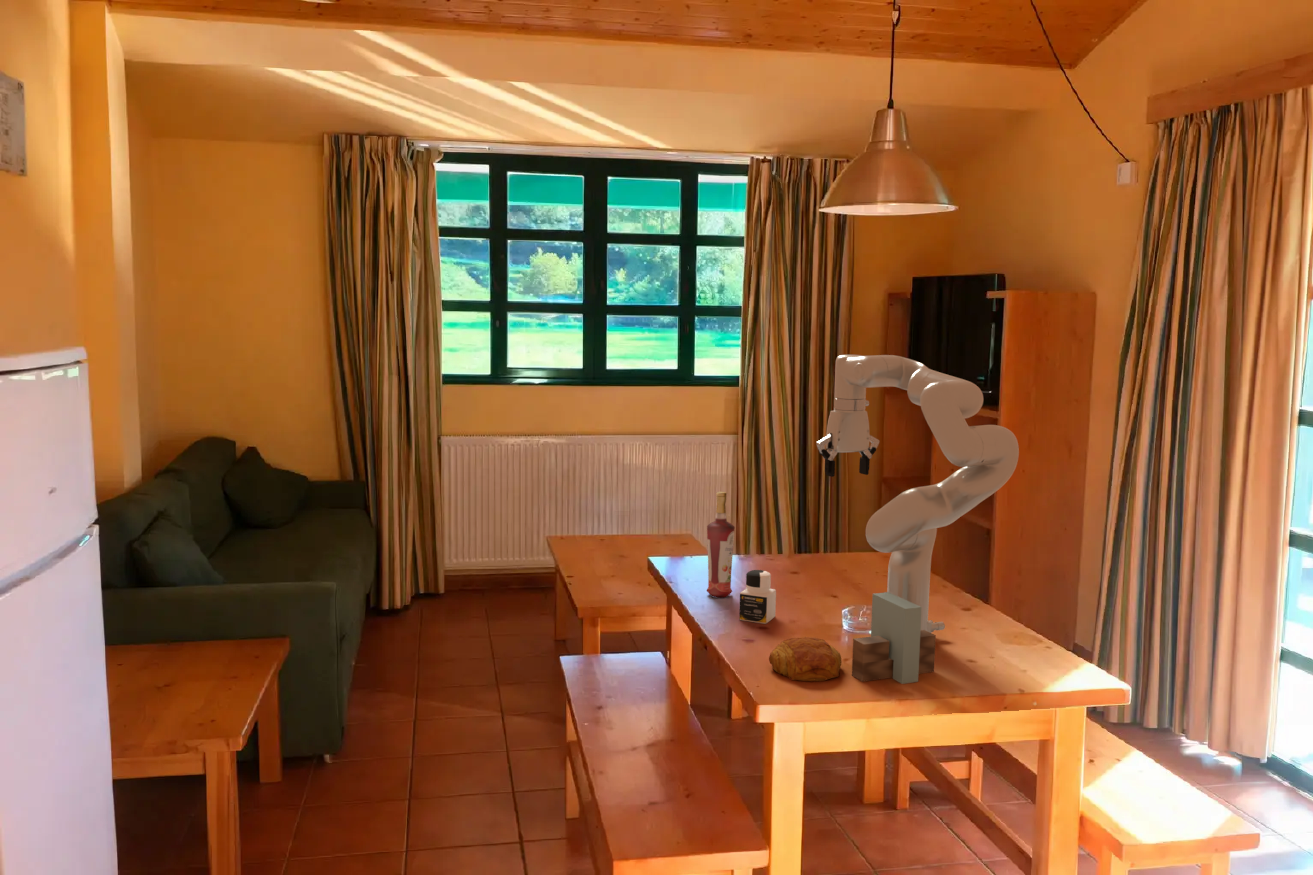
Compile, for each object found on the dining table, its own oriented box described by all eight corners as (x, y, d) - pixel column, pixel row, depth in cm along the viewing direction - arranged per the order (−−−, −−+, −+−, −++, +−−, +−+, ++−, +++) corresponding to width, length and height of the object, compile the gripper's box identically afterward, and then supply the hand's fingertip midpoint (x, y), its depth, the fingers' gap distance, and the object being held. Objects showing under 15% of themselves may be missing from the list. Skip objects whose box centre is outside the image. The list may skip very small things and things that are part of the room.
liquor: (725, 600, 278) (727, 496, 274) (700, 596, 281) (702, 493, 278) (737, 594, 284) (740, 491, 280) (713, 590, 288) (715, 489, 284)
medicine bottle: (738, 620, 261) (739, 572, 259) (748, 612, 267) (750, 566, 266) (766, 624, 258) (767, 576, 256) (775, 616, 264) (777, 570, 263)
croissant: (767, 670, 232) (763, 635, 231) (837, 660, 233) (833, 625, 232) (777, 692, 218) (773, 655, 217) (852, 681, 218) (847, 644, 217)
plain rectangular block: (869, 665, 229) (872, 593, 227) (885, 663, 231) (888, 592, 229) (901, 683, 218) (905, 608, 216) (918, 681, 220) (921, 606, 218)
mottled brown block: (922, 665, 230) (924, 629, 229) (933, 671, 226) (935, 635, 225) (851, 675, 223) (853, 638, 222) (862, 681, 219) (863, 644, 218)
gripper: (871, 403, 263) (868, 471, 266) (810, 404, 257) (808, 474, 259) (888, 406, 257) (885, 475, 259) (826, 407, 250) (824, 479, 252)
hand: (847, 474), depth 259 cm, fingers open, 9 cm apart
